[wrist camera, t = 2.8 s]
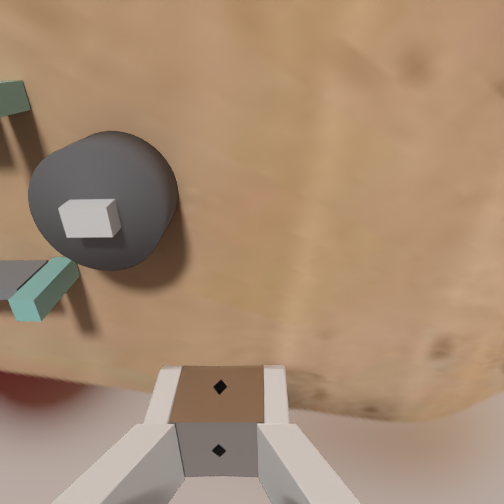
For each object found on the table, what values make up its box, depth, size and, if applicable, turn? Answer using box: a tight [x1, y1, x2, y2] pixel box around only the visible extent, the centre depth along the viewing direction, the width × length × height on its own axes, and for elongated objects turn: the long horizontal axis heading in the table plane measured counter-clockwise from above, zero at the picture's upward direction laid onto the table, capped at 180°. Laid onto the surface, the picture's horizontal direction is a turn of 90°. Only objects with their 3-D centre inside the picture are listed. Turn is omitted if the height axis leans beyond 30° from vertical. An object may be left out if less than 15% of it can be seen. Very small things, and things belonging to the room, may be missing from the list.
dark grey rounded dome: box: [28, 131, 178, 271], centre depth 21 cm, size 7×7×5 cm
